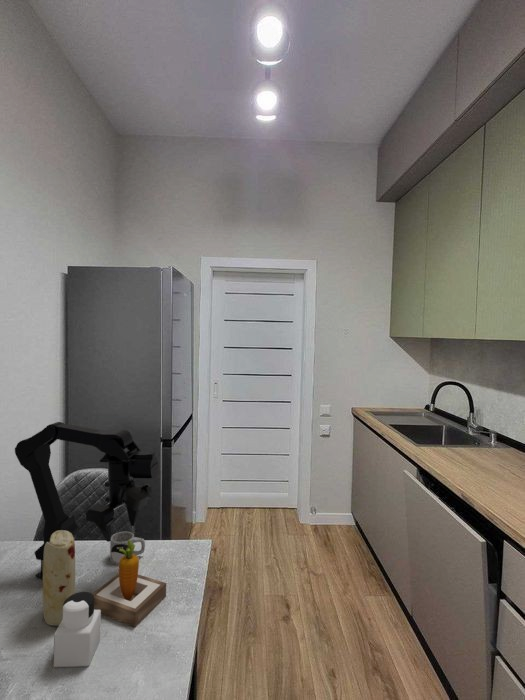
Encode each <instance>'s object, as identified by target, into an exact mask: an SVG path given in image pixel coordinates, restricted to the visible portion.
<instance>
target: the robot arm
mask: <svg viewBox="0 0 525 700" xmlns="http://www.w3.org/2000/svg"><path fill="white" fill-rule="evenodd" d="M58 440H59V441H65V442H70V443H74V444H80V445H86V446H90V447H94V448H96V449H97V450H98V451H99V452H102V453H104V455H103V457H102V458H101V459H99V462H100V463H107V479H108V480H107V481H105V482H104V486H105V487H108V495H107V496H106V497H105V502H108V504H106V505H105V504H101V503H97V504H96V505H94V506H92V507H90V508H89V509H87V510H86V511H85V521H87V522H91V523H94V524H95V525H96V526H97V528H98V529H99V531H100V532H101V535H102V536H103V538H104V540H105V542H109V543H110V541H111V536H112V523H113V522H114V520H115V510H117V509H118V508H120V507H122V506H124V505H125V506H126V511H127V516H128V521H129V524H130V526H131V527H134V526H135V525H136V521H137V519H138V515H139V511H140V509H142V508H143V507H145V506H147V503H148V500H149V499H151V498H152V497H153V496H152V492H153V491H152V485H150V484H149V483H145V484H144V485H140V484H139V485H138V484H136V483H135V479H146V480H147V479H152V480H153V479H156V477H157V476H158V472H159V468H160V467H159V466H160V463H159V461H158V457H156V453H155V452H154V451H153V452H141V451H142V450H141V449H140V447H139V446H138V445H137V444H136V442H135V441H134V439H133V436H132V434H131V432H130V431H129V430H127V429H115V428H114V429H113V428H112V429H105V430H101V429H95V428H89V427H84V426H79V425H73V424H68V423H65V422H61V421H56V422H54V423H50V424H48V425H46V427H44V428H43V429H42V430H41V431H39V432H37V433H35V434H33V435H32V436H31V437H28V438H25V439H23V440H20V441H18V443H17V444H16V446H15V448H14V453H15V457H16V458H17V460H18V462H19V464H20V465H21V466H22V467H23V468H24V469H25V470H26V471H28V473H29V475H30V478H31V481H32V485H33V488H34V492H35V494H36V497H37V501H38V504H39V506H40V507H39V508H40V509H41V510H40V511H41V512H42V516H43V519H44V523H43V524H44V525H43V530H42V539H43V544H42V545H40V546H39V548H37V549H36V550H35V551H34V555H35V559H36V560H39V561H40V571H39V572H37V573H36V574H35V578H37V579H41V580H43V561H44V547H45V544H46V542H50V538H51V535H52V534H53V533H54V532H55V531H58V530H65V531H69V532H70V533H71V534H72V535H73V537H74V540H75V539H76V538H77V535H78V530H79V526H78V524H77V523H76V516H75V515H74V514H73V515H70V516H69V515H68V514H66V513H65V512H64V511H65V510H64V508H63V506H62V505H63V504H62V502H61V500H60V496H59V492H58V490H57V486H56V483H55V480H54V477H53V475H52V474H53V473H52V471H51V470H52V469H51V468H50V461H51V460H50V459H51V455H52V452H51V445H53V444H54V443H56V441H58ZM126 450H128V451H126ZM131 477H132V478H131Z"/></svg>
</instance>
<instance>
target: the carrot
mask: <svg viewBox="0 0 525 700" xmlns="http://www.w3.org/2000/svg"><path fill="white" fill-rule="evenodd" d="M127 542H128V547H127V548H126V551H125V550H123V549H119V551H120V552H122V553H124V554H125V556H123V557H122V558H121V559H120V563H119V565H118V574H119V582H120V588H121V592H122V594H123V596H124V598H125V600H128V601H129V600H130V599H131V598H132V596H133V593H134V591H135V587H136V583H137V577H138V575H139V567H140V566H139V565H140V558H139V555H134V554H133V551H135V548H136V544H133V545H132V542H131V540H129V541H127Z"/></svg>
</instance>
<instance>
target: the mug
mask: <svg viewBox="0 0 525 700" xmlns="http://www.w3.org/2000/svg"><path fill="white" fill-rule="evenodd" d="M134 535H135V534H134V533H132V532H131V531H120V532H116V533H114V534H111V541H110V542H109V543H110V546H109V551H110V552H109V562H110V563H111V564H113V565H117V566H119V563H120V559H121V558H122V557H123V556H125V554H124V553H122V552H120V551H119V549H123V550H125V551H126V548H127V547H128V542H127V541H129V540H131V542H132V545H133V544H134V543H140V544H141V549H140V550H134V551H133V554H134V555H136V556H139V555H141V554H143V553H144V552H145V547H146V541H145V539H144V538H141V537H136V536H134ZM134 545H135V544H134Z"/></svg>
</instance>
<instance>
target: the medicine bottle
mask: <svg viewBox="0 0 525 700" xmlns="http://www.w3.org/2000/svg"><path fill="white" fill-rule="evenodd" d="M92 594H93V593H91V592H88V591H79V592H74V594H73V595H71V596H69V597H68V598H67V599H66V600H65V602H64V603H63V620H62V622H61V623H60V625H59V626H57V629H56V630H55V632H54V634H53V667H54V668H70V667H71V668H73V667H77V668H78V667H90V665H91V662H92V661H93V658H94V656H95V653H96V650H97V649H98V646H99V644H100V641H101V625H102V623H101V620H102V619H101V617H102V615H101V610H94V596H93V595H92Z"/></svg>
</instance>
